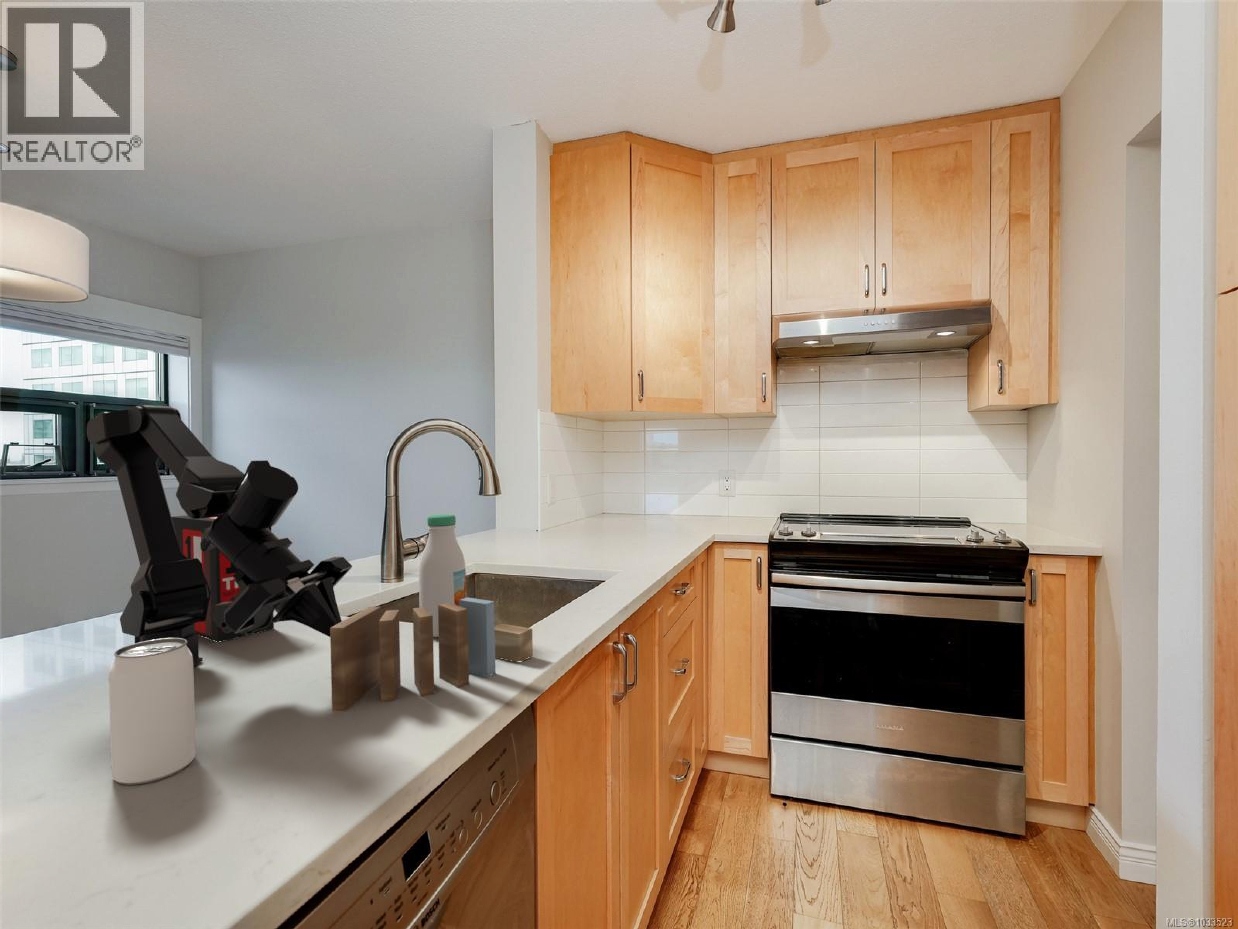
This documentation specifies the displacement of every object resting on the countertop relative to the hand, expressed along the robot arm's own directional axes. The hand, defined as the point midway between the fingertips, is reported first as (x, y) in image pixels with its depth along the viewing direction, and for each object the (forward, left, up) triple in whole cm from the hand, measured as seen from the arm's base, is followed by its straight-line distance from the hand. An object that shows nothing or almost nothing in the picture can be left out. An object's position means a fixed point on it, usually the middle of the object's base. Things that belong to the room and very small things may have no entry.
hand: (341, 636), depth 75 cm
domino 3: (+10, +1, -7) cm, 12 cm away
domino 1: (+2, 0, -7) cm, 8 cm away
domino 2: (+6, 0, -7) cm, 10 cm away
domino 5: (+16, +6, -7) cm, 19 cm away
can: (-12, -16, -8) cm, 22 cm away
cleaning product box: (-33, +33, -8) cm, 47 cm away
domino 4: (+13, +3, -7) cm, 16 cm away
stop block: (+20, +12, -7) cm, 24 cm away
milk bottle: (+7, +26, -8) cm, 28 cm away
